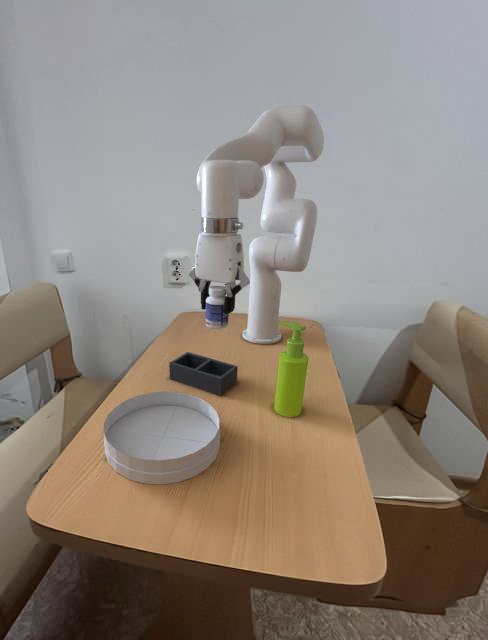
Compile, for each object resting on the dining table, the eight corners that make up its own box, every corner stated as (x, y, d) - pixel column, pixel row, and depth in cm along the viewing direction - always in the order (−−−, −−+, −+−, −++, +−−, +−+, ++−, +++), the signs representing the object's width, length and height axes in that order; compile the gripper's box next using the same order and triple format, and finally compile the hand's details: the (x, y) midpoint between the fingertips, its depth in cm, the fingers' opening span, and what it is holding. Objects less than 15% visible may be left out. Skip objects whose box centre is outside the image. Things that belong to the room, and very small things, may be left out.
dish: (227, 417, 80) (227, 397, 78) (209, 493, 60) (210, 470, 58) (129, 405, 84) (127, 386, 82) (83, 473, 64) (79, 450, 62)
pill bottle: (226, 330, 83) (228, 291, 79) (203, 328, 84) (204, 290, 80) (229, 322, 88) (230, 285, 84) (207, 320, 89) (208, 284, 85)
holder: (187, 367, 102) (187, 351, 100) (236, 382, 94) (237, 366, 92) (169, 378, 96) (169, 362, 94) (220, 396, 88) (221, 379, 86)
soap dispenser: (279, 397, 87) (288, 316, 79) (306, 409, 83) (318, 325, 74) (264, 407, 83) (272, 323, 75) (291, 420, 79) (303, 332, 70)
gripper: (265, 227, 75) (258, 312, 83) (195, 222, 84) (195, 300, 92) (248, 231, 70) (243, 322, 77) (175, 226, 79) (177, 308, 86)
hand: (217, 309), depth 84 cm, fingers closed on pill bottle, 5 cm apart
